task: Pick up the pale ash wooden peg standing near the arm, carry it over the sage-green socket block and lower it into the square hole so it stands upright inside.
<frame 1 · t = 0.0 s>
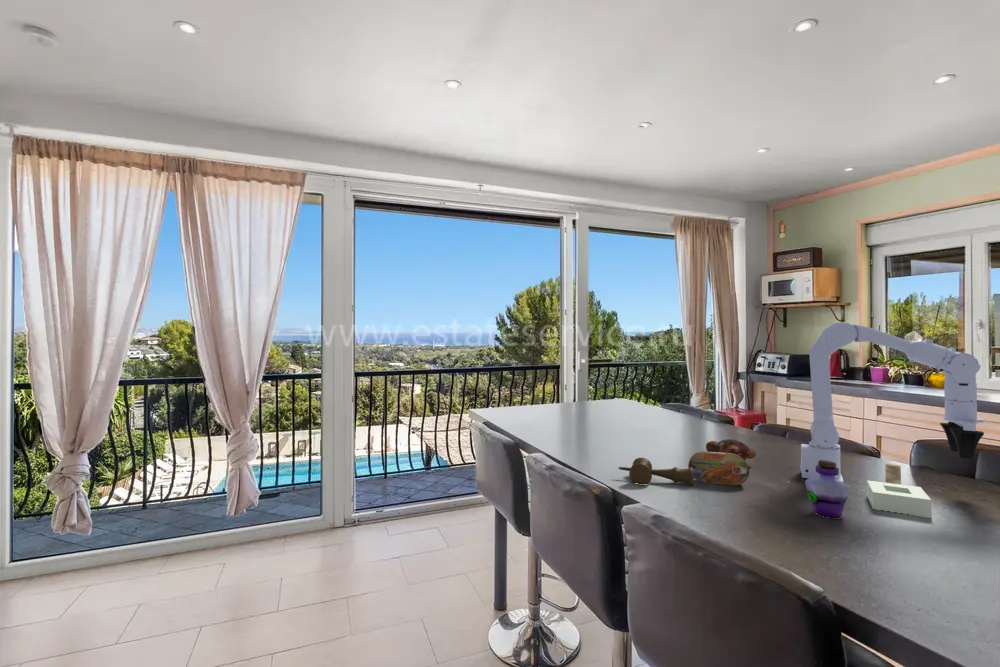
hand: (961, 454, 114), 10 cm above the table, tool pointing down, fingers open, 7 cm apart
decorative turtle: (730, 466, 142), on the table
socket block: (897, 506, 107), on the table
potion bottle: (827, 515, 103), on the table
kendama: (655, 483, 127), on the table
tin: (718, 483, 126), on the table
peg: (893, 492, 117), on the table
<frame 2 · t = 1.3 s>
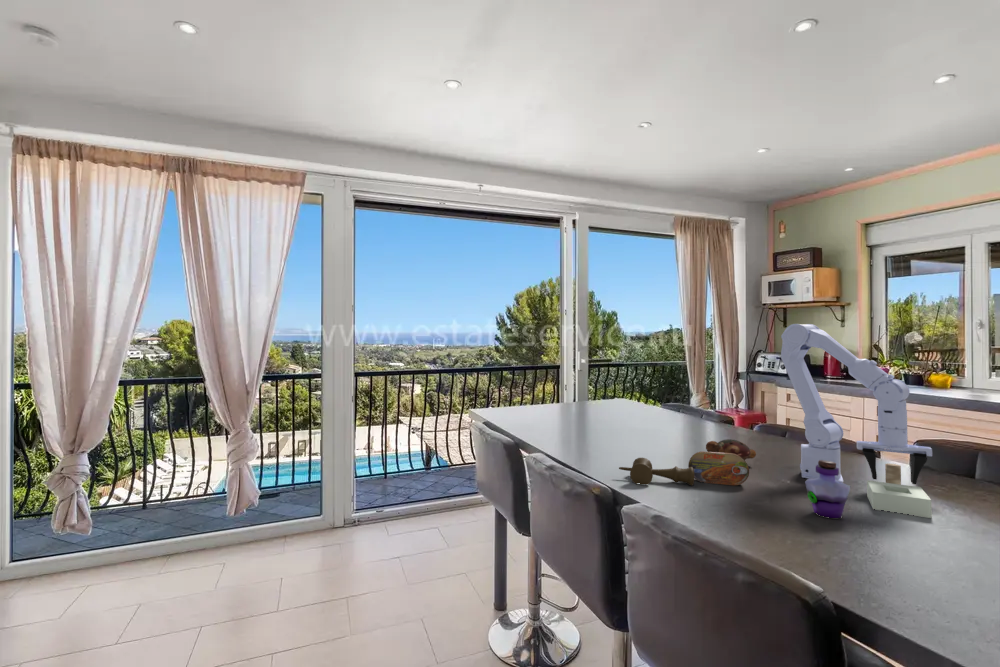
hand: (893, 480, 116), 3 cm above the table, tool pointing down, fingers open, 7 cm apart
nothing on the table moved.
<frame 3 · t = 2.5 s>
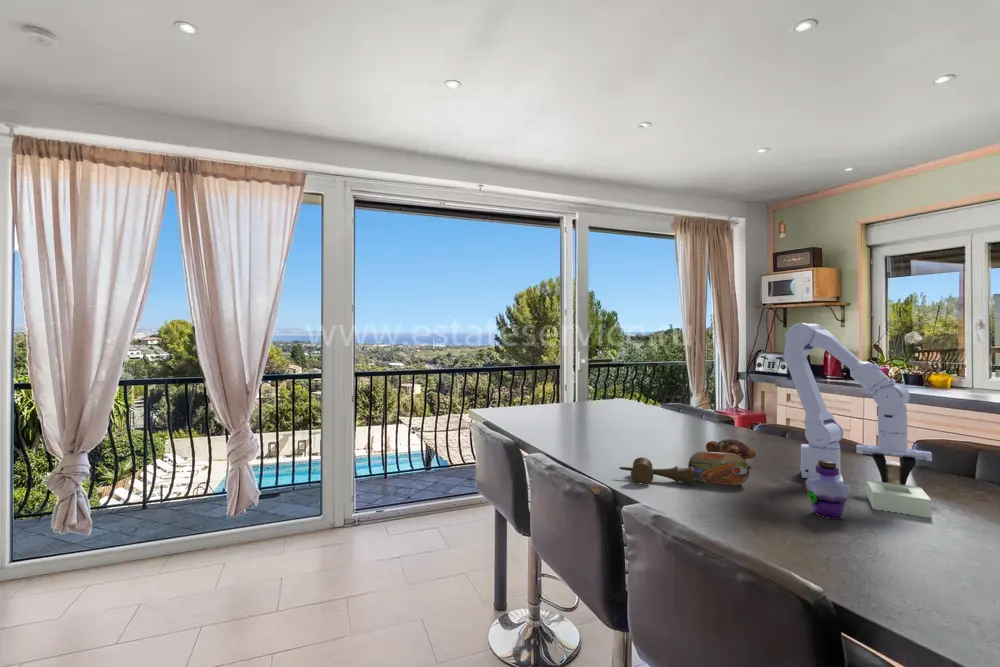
hand: (893, 484, 117), 2 cm above the table, tool pointing down, fingers closed on peg, 3 cm apart
peg: (893, 492, 117), on the table, touching gripper
everything else where it was.
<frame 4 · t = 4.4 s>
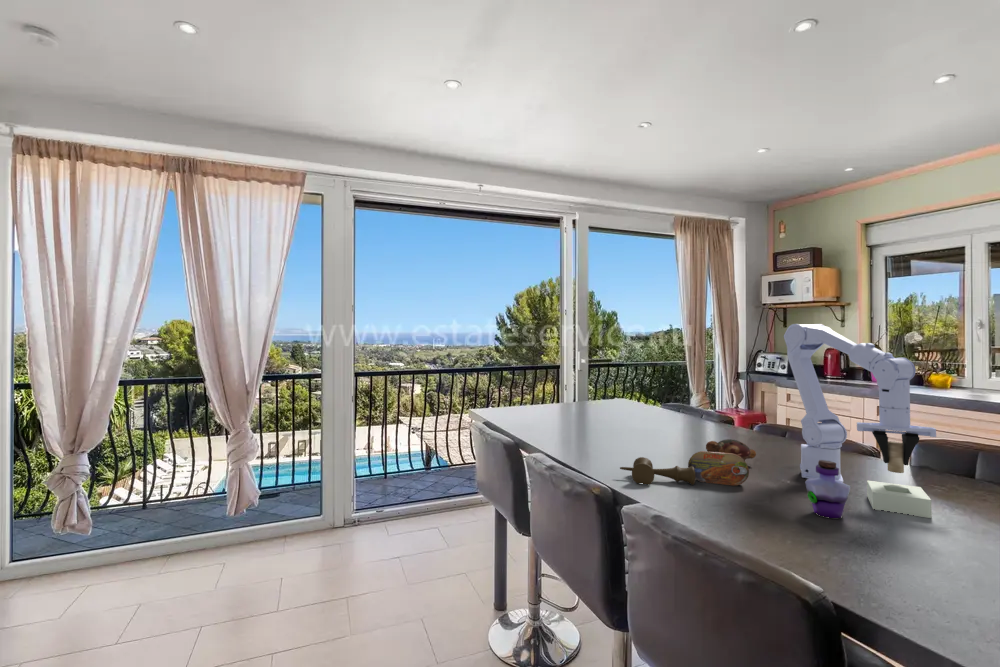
hand: (895, 463, 111), 9 cm above the table, tool pointing down, fingers closed on peg, 3 cm apart
peg: (895, 471, 111), point 7 cm above the table, touching gripper
everything else where it was.
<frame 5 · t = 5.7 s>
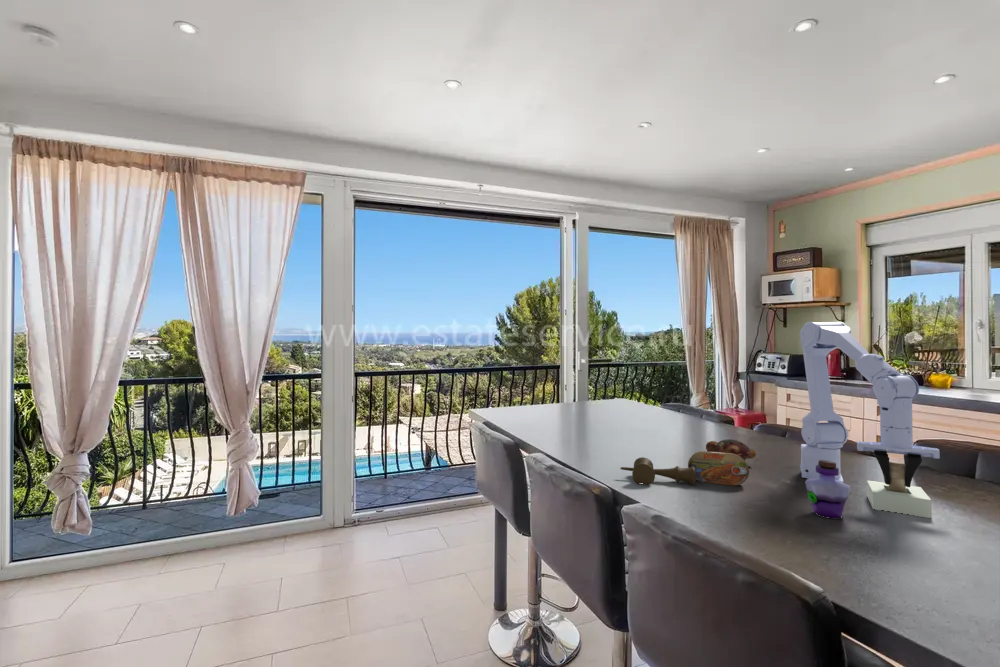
hand: (897, 484, 107), 5 cm above the table, tool pointing down, fingers closed on peg, 3 cm apart
peg: (897, 492, 107), point 3 cm above the table, touching gripper
everything else where it was.
when the fingers open (5 cm above the table, at t = 6.6 s): peg drops 2 cm, resting on socket block.
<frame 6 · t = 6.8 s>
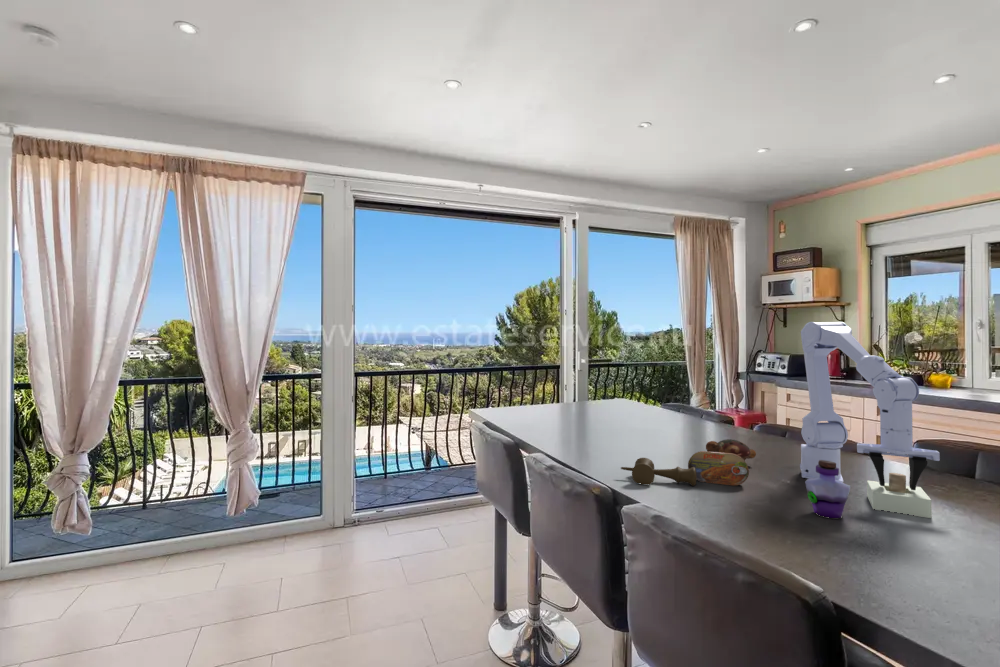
hand: (897, 486, 107), 5 cm above the table, tool pointing down, fingers open, 5 cm apart
peg: (897, 504, 107), resting on socket block
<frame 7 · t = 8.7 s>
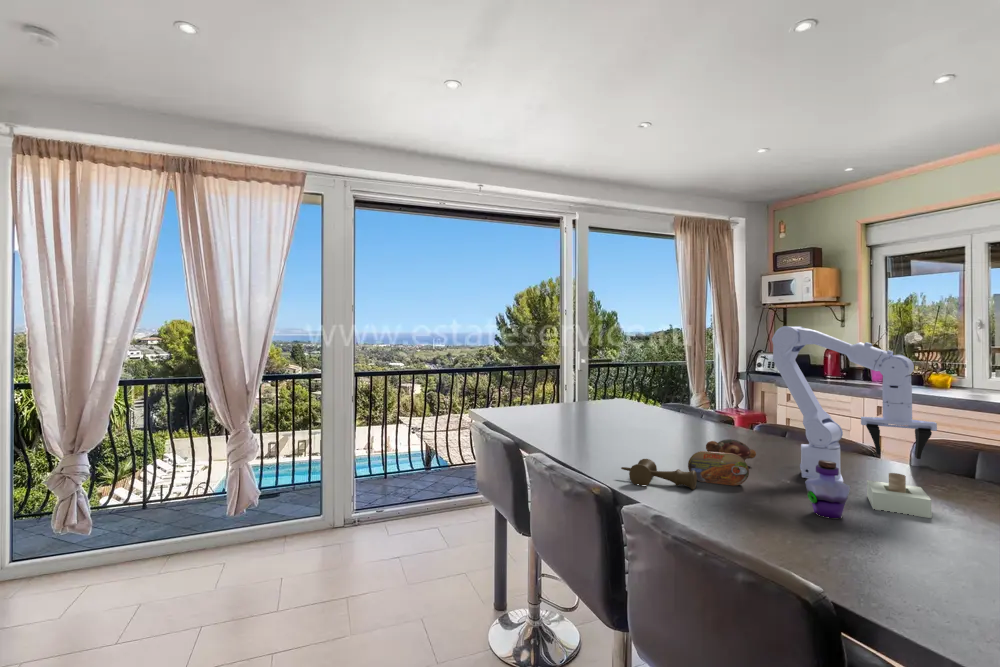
hand: (897, 455, 116), 9 cm above the table, tool pointing down, fingers open, 7 cm apart
kendama: (657, 484, 126), on the table
everything else where it was.
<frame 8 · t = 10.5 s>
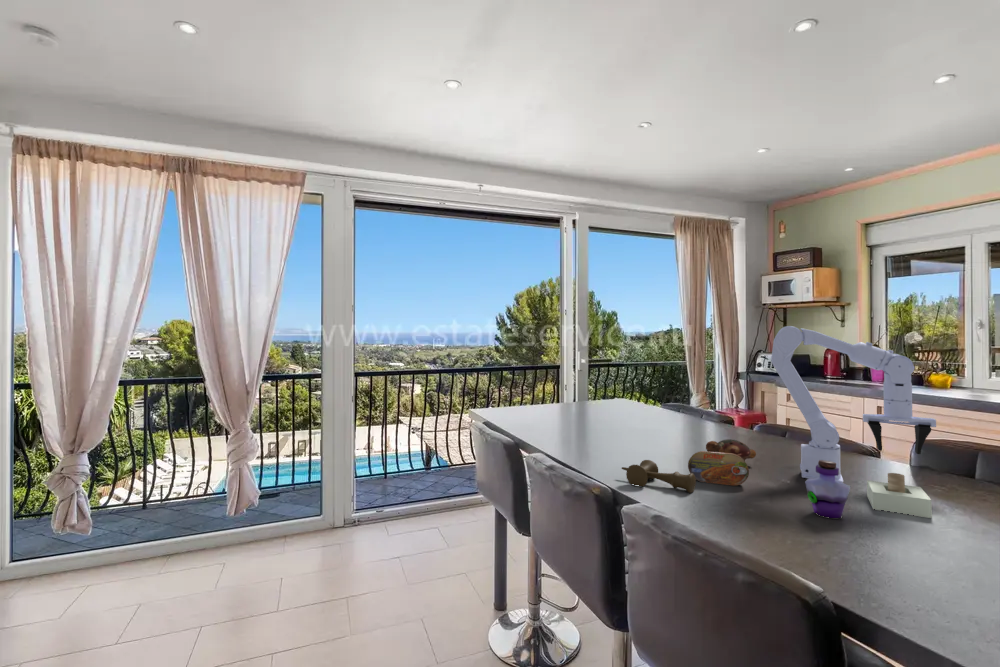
hand: (898, 451, 121), 9 cm above the table, tool pointing down, fingers open, 7 cm apart
kendama: (656, 486, 124), on the table
everything else where it was.
at the end: peg 0.0 cm off-centre on the socket block, point 0.4 cm above the socket block's base; peg tilted 2°; the gripper is holding nothing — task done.
